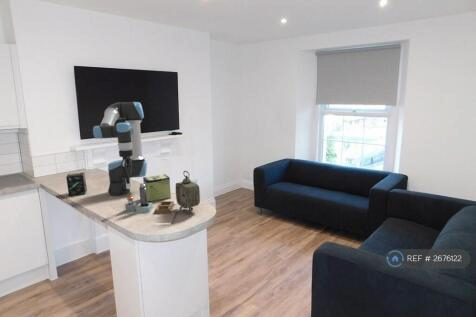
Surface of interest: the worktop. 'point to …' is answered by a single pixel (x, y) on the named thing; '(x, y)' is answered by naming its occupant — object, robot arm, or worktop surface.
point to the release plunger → (130, 200)
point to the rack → (164, 207)
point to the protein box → (157, 187)
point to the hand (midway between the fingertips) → (129, 188)
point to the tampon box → (76, 184)
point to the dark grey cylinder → (143, 195)
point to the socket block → (138, 209)
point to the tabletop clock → (187, 193)
